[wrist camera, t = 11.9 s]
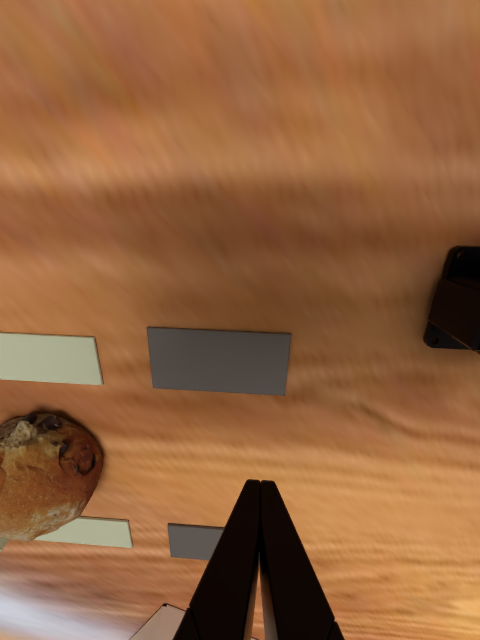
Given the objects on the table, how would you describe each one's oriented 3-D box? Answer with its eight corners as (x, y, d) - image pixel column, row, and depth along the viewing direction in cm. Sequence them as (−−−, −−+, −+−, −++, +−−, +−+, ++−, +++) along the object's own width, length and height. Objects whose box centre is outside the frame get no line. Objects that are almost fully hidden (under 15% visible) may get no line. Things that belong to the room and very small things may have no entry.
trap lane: (290, 333, 19) (293, 343, 18) (267, 562, 29) (267, 580, 28) (-95, 315, 21) (-120, 323, 19) (6, 540, 30) (-6, 556, 29)
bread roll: (20, 419, 29) (-61, 506, 23) (14, 383, 22) (-106, 497, 16) (107, 465, 30) (50, 556, 25) (128, 445, 23) (55, 568, 18)
